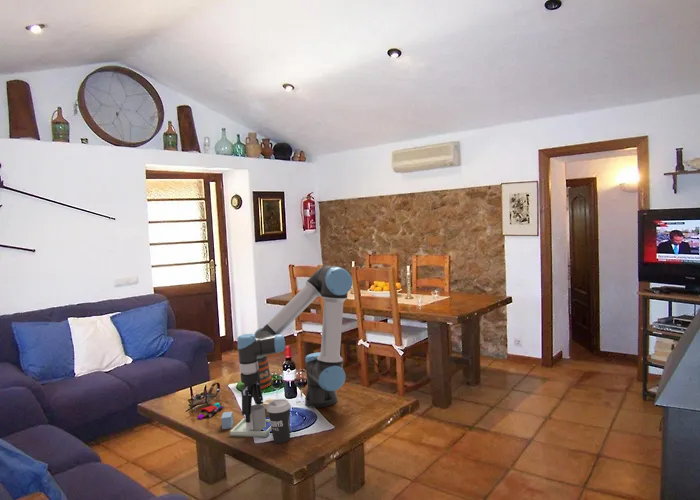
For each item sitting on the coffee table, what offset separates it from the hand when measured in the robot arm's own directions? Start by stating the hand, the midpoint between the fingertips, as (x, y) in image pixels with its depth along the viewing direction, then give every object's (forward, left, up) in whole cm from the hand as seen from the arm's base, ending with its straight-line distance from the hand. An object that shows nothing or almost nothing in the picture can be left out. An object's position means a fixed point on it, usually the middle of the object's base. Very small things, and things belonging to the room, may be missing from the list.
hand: (254, 424), depth 209 cm
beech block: (+2, -21, -3) cm, 21 cm away
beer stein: (+23, -52, -3) cm, 57 cm away
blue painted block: (+14, -3, -2) cm, 15 cm away
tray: (0, 0, -2) cm, 2 cm away
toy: (+29, -16, -3) cm, 33 cm away
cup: (0, 0, -2) cm, 2 cm away
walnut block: (0, -12, -2) cm, 12 cm away
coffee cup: (-15, +8, -3) cm, 17 cm away
